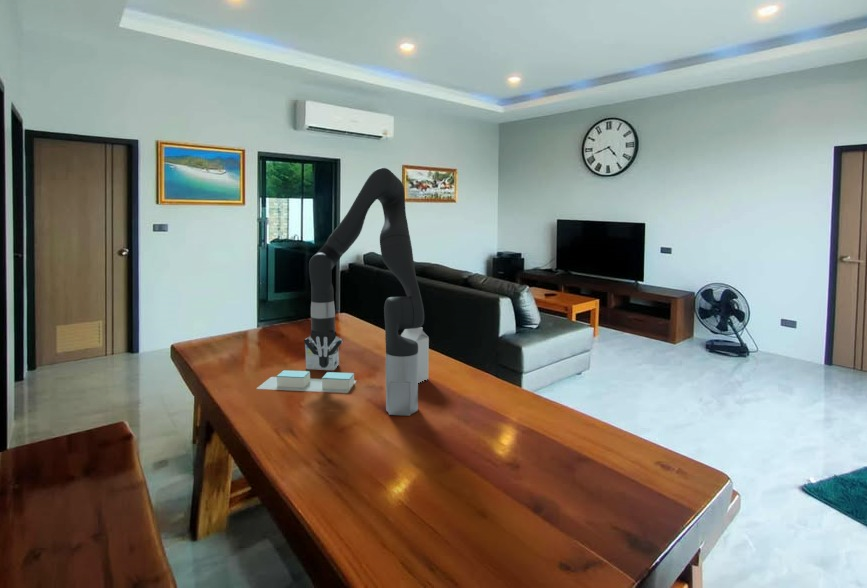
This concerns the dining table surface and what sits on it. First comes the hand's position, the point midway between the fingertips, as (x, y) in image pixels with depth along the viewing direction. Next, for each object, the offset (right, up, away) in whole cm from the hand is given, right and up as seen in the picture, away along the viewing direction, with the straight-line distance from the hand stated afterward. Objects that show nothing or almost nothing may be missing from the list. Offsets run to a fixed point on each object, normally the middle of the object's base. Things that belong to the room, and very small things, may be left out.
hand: (324, 367), depth 168 cm
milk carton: (+29, -6, +7) cm, 30 cm away
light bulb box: (-5, -3, +21) cm, 21 cm away
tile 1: (-15, -4, +2) cm, 16 cm away
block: (0, -4, +1) cm, 5 cm away
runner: (-6, -6, +2) cm, 9 cm away
